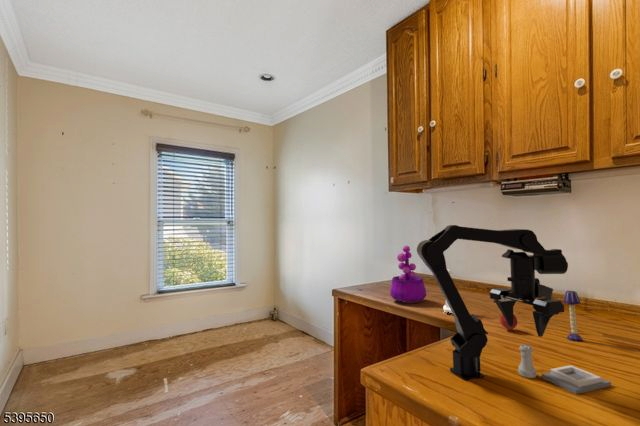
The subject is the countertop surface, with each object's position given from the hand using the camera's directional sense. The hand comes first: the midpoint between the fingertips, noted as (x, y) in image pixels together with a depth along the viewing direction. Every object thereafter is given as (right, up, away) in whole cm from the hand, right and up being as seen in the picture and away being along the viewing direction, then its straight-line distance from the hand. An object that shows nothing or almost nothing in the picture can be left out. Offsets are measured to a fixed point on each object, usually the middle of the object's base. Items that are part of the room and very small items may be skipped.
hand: (525, 331), depth 90 cm
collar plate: (+10, -12, -5) cm, 16 cm away
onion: (+16, -13, +35) cm, 41 cm away
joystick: (+5, -14, +62) cm, 64 cm away
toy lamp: (+33, -12, +25) cm, 43 cm away
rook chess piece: (0, -12, 0) cm, 12 cm away
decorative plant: (-9, -15, +84) cm, 86 cm away
